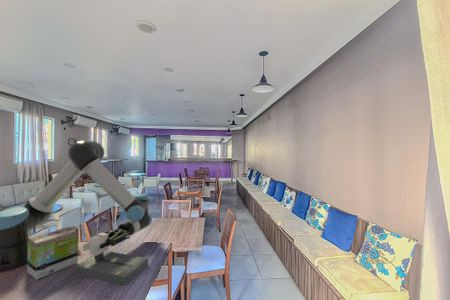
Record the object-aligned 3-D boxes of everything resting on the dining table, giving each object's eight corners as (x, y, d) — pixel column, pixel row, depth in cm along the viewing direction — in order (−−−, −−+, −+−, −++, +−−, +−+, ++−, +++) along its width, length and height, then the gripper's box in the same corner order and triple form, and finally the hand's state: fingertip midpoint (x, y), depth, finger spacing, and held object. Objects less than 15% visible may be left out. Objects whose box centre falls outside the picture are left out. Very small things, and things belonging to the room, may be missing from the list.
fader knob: (89, 261, 92) (89, 237, 92) (101, 254, 98) (101, 232, 98) (96, 262, 91) (96, 239, 91) (108, 255, 97) (108, 233, 97)
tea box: (36, 281, 84) (36, 243, 84) (26, 272, 89) (26, 237, 89) (78, 263, 97) (78, 230, 96) (68, 257, 102) (68, 226, 102)
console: (75, 273, 89) (75, 265, 89) (103, 256, 103) (103, 250, 103) (124, 285, 82) (124, 277, 82) (148, 265, 95) (148, 258, 95)
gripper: (142, 237, 109) (104, 261, 87) (115, 233, 114) (72, 254, 92) (142, 223, 109) (104, 243, 87) (115, 219, 114) (72, 237, 92)
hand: (88, 249), depth 89 cm, fingers closed on fader knob, 4 cm apart
